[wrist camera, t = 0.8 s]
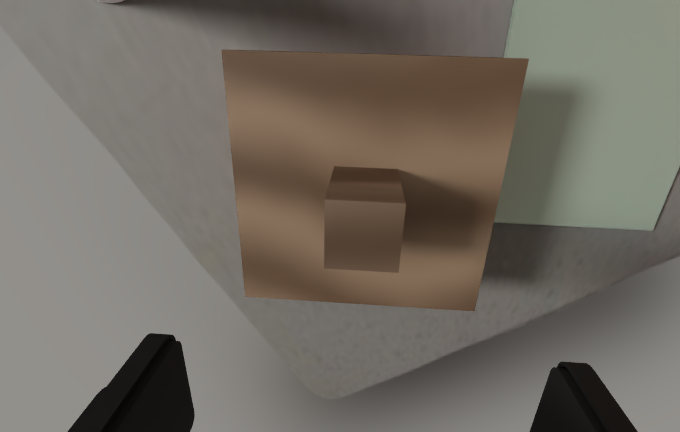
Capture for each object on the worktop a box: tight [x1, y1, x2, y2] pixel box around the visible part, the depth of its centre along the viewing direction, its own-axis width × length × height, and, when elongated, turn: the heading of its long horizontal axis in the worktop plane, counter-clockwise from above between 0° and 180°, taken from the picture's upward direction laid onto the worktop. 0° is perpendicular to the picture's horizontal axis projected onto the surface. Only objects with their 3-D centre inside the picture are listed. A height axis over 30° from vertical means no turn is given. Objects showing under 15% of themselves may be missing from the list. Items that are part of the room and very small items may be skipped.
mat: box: [494, 0, 680, 231], centre depth 25 cm, size 16×13×1 cm
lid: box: [222, 50, 529, 311], centre depth 20 cm, size 15×15×6 cm
